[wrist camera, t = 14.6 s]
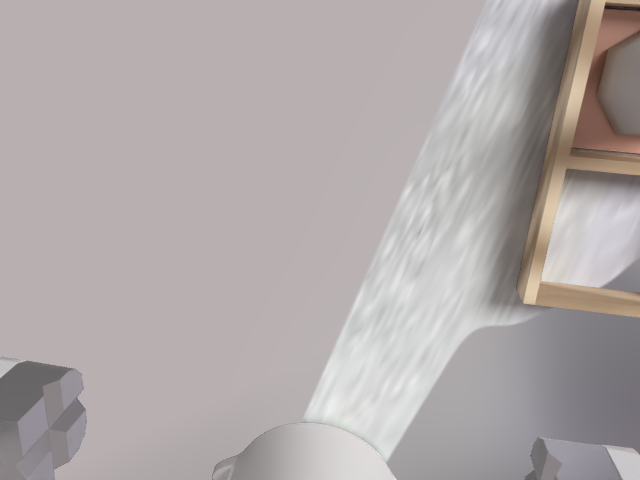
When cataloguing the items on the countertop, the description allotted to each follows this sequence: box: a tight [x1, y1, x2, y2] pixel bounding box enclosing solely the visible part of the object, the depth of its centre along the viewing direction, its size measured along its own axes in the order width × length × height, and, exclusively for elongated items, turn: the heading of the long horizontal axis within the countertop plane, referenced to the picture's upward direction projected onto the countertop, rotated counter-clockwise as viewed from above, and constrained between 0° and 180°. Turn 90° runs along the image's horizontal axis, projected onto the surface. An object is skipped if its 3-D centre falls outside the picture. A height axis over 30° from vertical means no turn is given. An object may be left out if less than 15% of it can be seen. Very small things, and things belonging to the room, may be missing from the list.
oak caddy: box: [516, 0, 640, 318], centre depth 36 cm, size 20×11×2 cm, turn 176°
